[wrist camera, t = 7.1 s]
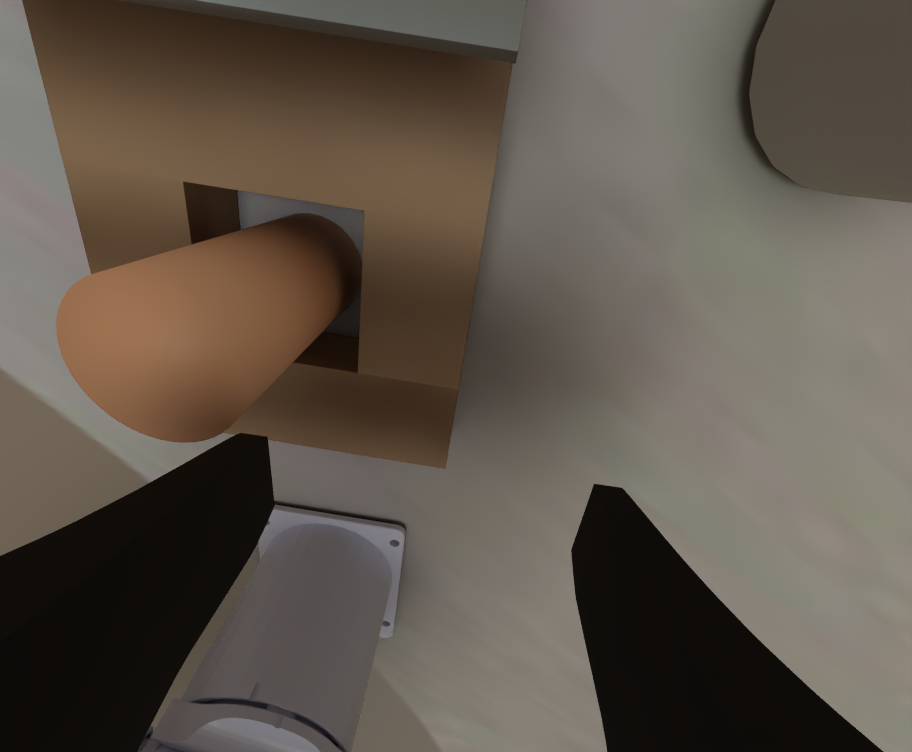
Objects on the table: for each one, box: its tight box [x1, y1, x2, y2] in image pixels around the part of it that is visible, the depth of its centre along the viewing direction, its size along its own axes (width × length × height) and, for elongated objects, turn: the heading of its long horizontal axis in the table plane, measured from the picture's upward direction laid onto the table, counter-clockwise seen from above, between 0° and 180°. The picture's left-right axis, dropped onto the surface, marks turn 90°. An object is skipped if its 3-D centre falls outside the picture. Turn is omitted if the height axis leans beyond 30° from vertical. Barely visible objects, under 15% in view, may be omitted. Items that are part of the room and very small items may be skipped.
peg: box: [57, 213, 362, 442], centre depth 13 cm, size 4×4×9 cm
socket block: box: [22, 0, 527, 469], centre depth 12 cm, size 16×13×10 cm
